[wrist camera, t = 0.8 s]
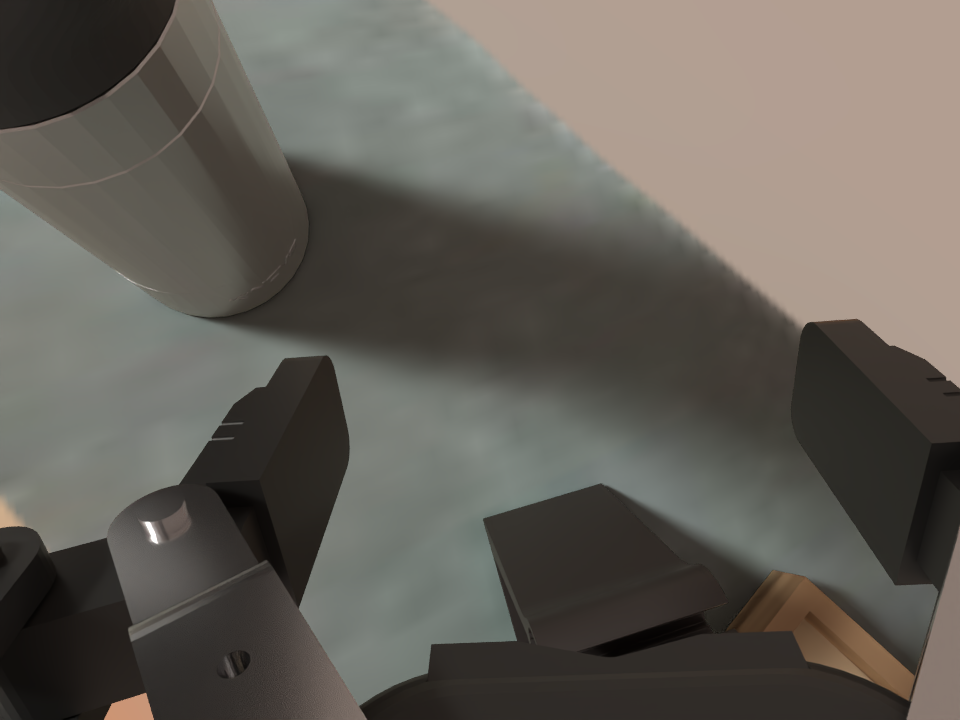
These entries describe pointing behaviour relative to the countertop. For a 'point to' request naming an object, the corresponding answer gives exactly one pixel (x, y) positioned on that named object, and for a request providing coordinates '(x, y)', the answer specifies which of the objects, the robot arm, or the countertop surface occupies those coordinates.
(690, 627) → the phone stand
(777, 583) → the shallow tray
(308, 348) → the countertop surface
